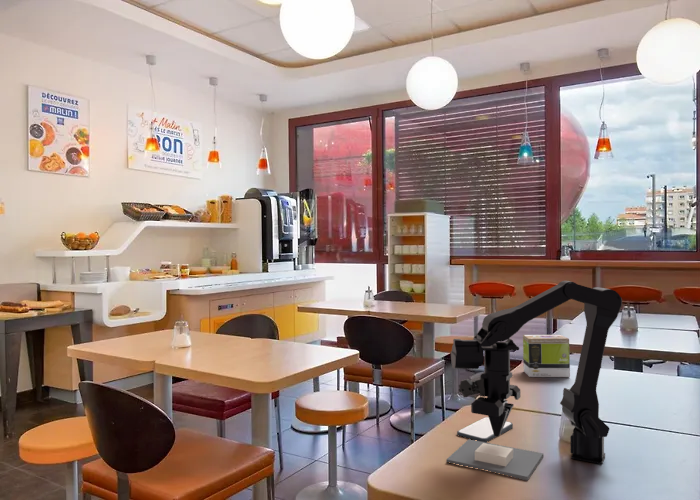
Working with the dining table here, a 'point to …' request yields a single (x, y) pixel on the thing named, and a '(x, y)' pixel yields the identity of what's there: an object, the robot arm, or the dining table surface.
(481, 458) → the block
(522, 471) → the mat
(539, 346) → the tea box
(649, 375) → the dining table surface
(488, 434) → the phone case
